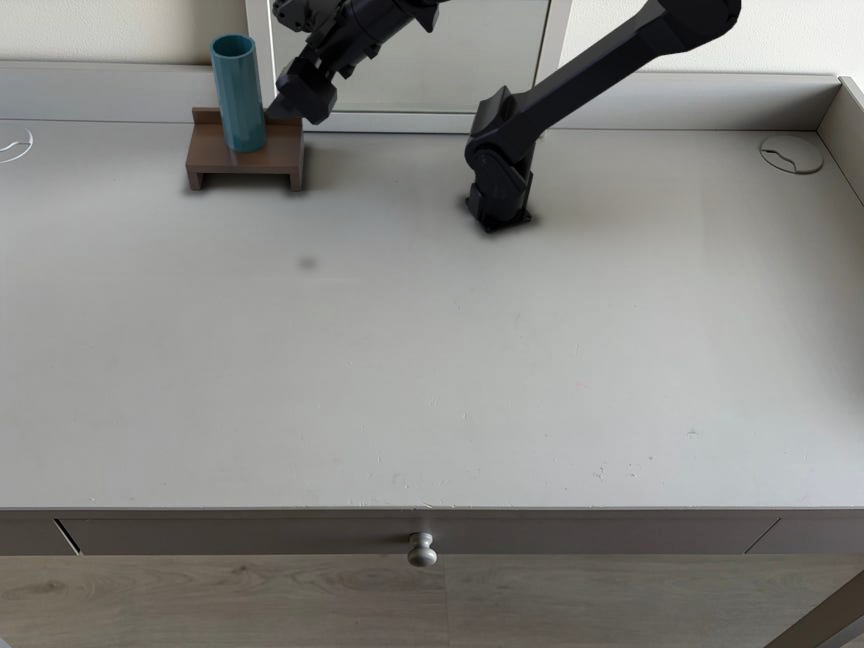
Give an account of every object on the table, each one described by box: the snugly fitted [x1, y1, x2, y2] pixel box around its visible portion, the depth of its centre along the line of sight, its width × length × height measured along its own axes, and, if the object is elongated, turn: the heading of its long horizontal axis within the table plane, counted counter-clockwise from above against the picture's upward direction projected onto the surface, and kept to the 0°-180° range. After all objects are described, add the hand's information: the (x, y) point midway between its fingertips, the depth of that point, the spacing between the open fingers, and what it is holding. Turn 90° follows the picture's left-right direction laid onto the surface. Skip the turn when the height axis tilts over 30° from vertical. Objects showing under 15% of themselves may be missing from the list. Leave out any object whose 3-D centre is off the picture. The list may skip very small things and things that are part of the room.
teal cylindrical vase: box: [208, 32, 267, 153], centre depth 94 cm, size 5×5×13 cm
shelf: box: [184, 106, 305, 192], centre depth 100 cm, size 14×9×6 cm, turn 90°
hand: (281, 92), depth 92 cm, fingers open, 9 cm apart
